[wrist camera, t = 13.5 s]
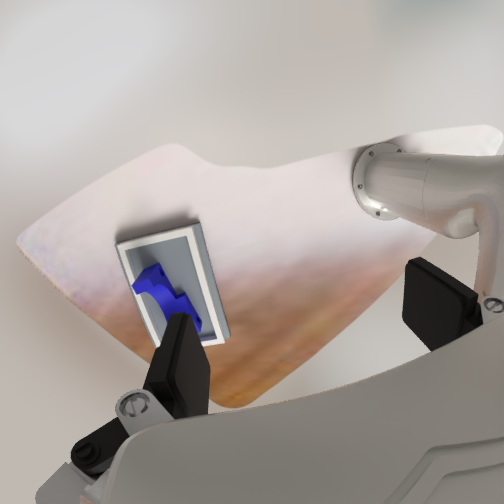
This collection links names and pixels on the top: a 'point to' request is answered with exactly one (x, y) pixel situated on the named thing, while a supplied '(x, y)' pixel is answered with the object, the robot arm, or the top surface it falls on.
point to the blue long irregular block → (165, 293)
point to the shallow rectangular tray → (176, 279)
